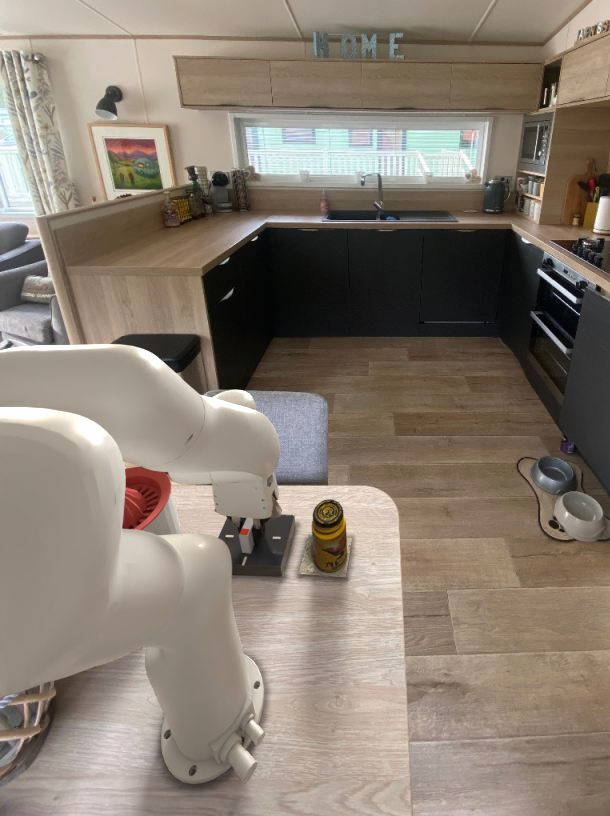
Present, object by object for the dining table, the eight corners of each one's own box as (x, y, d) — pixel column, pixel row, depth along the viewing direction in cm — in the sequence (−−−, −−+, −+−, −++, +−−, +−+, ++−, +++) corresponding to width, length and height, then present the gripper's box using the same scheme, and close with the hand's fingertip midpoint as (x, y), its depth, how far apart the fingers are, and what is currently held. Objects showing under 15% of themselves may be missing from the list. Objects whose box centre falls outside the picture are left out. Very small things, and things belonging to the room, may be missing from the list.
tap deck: (295, 524, 77) (294, 513, 76) (282, 577, 68) (280, 566, 67) (231, 522, 78) (229, 511, 77) (208, 575, 68) (205, 563, 67)
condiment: (346, 577, 68) (344, 530, 63) (298, 574, 69) (293, 527, 64) (352, 538, 75) (350, 493, 70) (308, 535, 75) (304, 490, 71)
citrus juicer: (54, 605, 64) (10, 520, 56) (152, 519, 78) (127, 441, 70) (115, 655, 58) (74, 567, 50) (208, 551, 72) (188, 471, 64)
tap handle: (255, 522, 75) (252, 504, 73) (263, 522, 74) (260, 505, 73) (242, 552, 69) (238, 534, 67) (250, 553, 69) (247, 535, 67)
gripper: (292, 447, 67) (300, 521, 75) (205, 441, 69) (221, 515, 76) (278, 482, 60) (288, 560, 68) (181, 475, 62) (201, 552, 69)
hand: (253, 535), depth 72 cm, fingers closed on tap handle
